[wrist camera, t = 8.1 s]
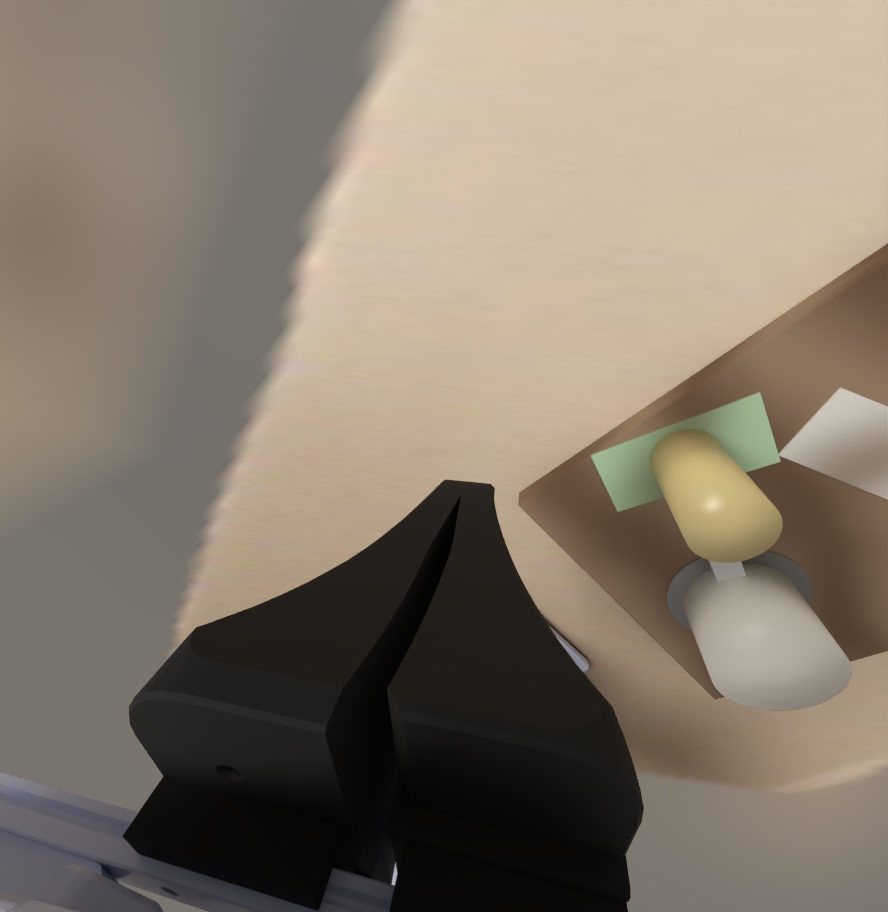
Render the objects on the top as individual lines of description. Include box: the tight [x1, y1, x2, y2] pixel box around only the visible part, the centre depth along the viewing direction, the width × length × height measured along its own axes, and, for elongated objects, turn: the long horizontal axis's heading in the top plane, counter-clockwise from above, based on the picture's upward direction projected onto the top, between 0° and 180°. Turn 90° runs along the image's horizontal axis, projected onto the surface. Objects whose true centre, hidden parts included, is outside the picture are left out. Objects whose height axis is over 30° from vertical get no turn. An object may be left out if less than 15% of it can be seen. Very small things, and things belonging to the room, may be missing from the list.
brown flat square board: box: [519, 244, 888, 699], centre depth 19 cm, size 18×18×1 cm
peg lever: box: [650, 429, 852, 711], centre depth 17 cm, size 13×5×5 cm, turn 30°
